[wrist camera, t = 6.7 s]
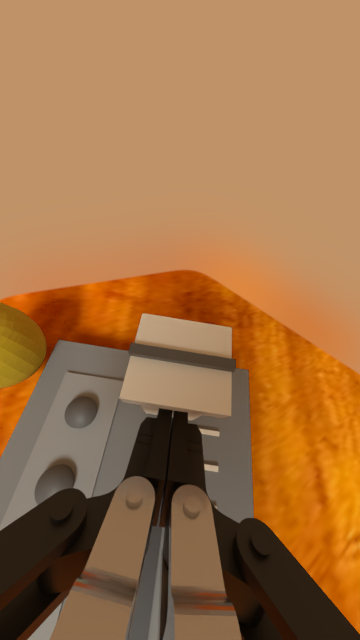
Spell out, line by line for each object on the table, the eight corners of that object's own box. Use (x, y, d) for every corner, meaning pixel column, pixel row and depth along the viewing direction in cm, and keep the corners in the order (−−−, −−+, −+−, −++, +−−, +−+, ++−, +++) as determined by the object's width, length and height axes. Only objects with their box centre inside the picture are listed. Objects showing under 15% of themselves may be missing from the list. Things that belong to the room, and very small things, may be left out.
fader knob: (200, 376, 16) (235, 324, 8) (196, 426, 14) (235, 415, 6) (150, 368, 16) (140, 308, 8) (139, 417, 14) (116, 396, 6)
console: (240, 376, 18) (251, 368, 16) (245, 759, 9) (272, 861, 7) (68, 348, 18) (55, 336, 16) (-94, 706, 9) (-174, 791, 7)
